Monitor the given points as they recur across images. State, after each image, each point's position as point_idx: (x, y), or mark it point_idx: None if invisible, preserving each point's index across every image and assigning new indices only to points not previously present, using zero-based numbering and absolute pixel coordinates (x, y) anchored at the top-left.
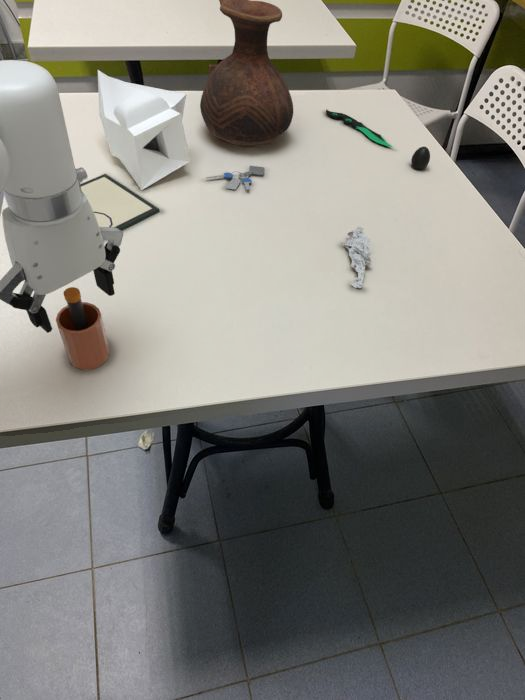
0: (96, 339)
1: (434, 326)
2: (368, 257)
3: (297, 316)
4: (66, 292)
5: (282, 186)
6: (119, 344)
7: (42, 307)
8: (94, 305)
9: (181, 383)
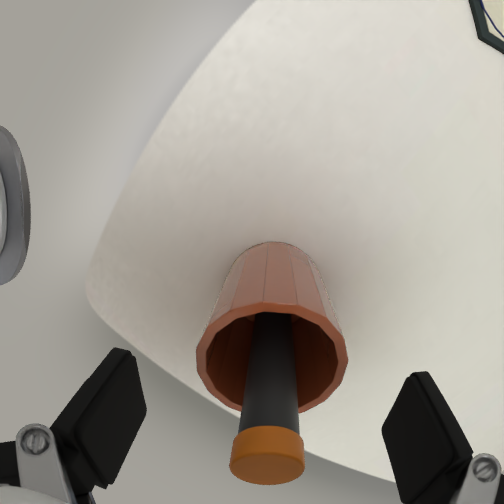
0: None
1: None
2: None
3: (485, 419)
4: (248, 464)
5: None
6: (337, 312)
7: (104, 478)
8: (346, 365)
9: (323, 427)
